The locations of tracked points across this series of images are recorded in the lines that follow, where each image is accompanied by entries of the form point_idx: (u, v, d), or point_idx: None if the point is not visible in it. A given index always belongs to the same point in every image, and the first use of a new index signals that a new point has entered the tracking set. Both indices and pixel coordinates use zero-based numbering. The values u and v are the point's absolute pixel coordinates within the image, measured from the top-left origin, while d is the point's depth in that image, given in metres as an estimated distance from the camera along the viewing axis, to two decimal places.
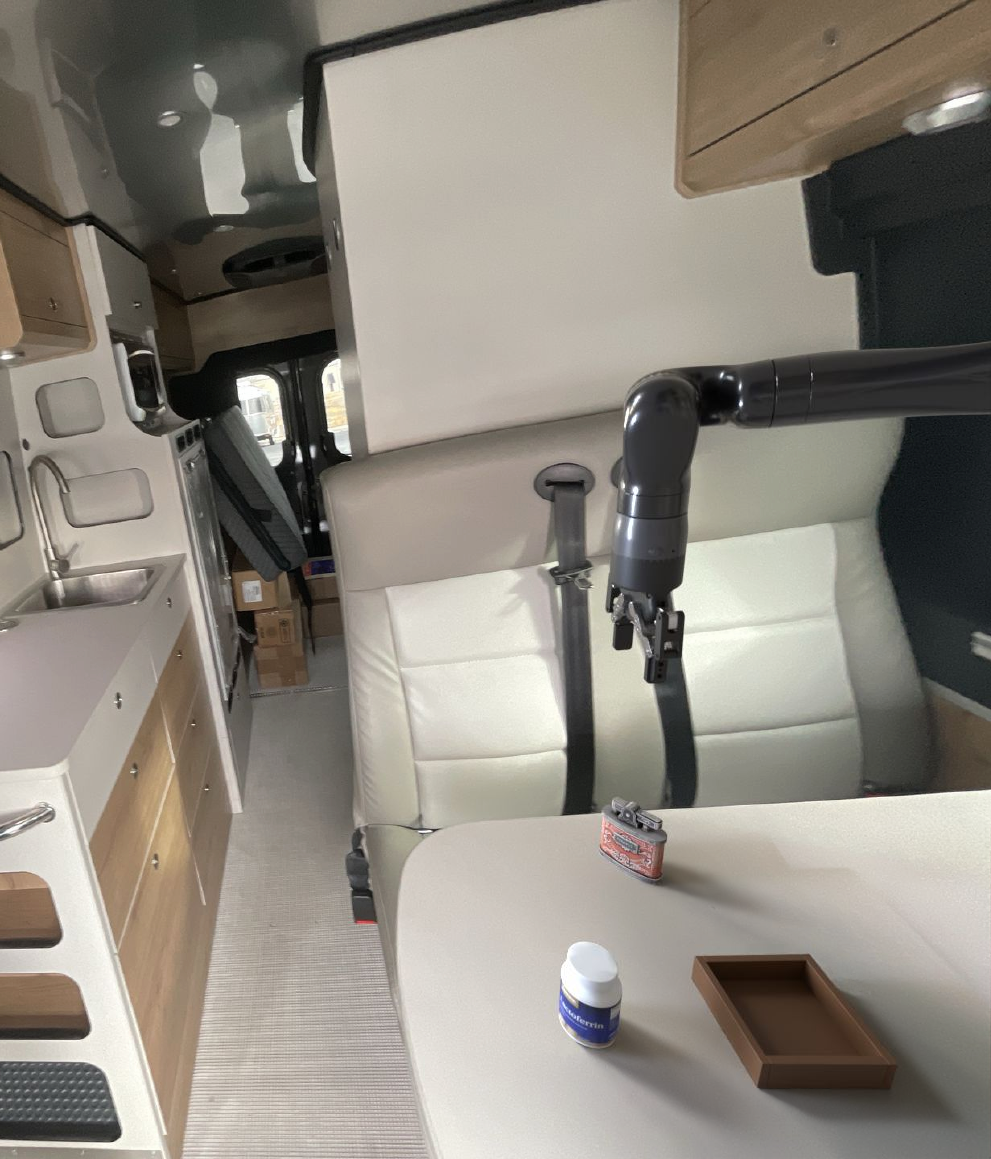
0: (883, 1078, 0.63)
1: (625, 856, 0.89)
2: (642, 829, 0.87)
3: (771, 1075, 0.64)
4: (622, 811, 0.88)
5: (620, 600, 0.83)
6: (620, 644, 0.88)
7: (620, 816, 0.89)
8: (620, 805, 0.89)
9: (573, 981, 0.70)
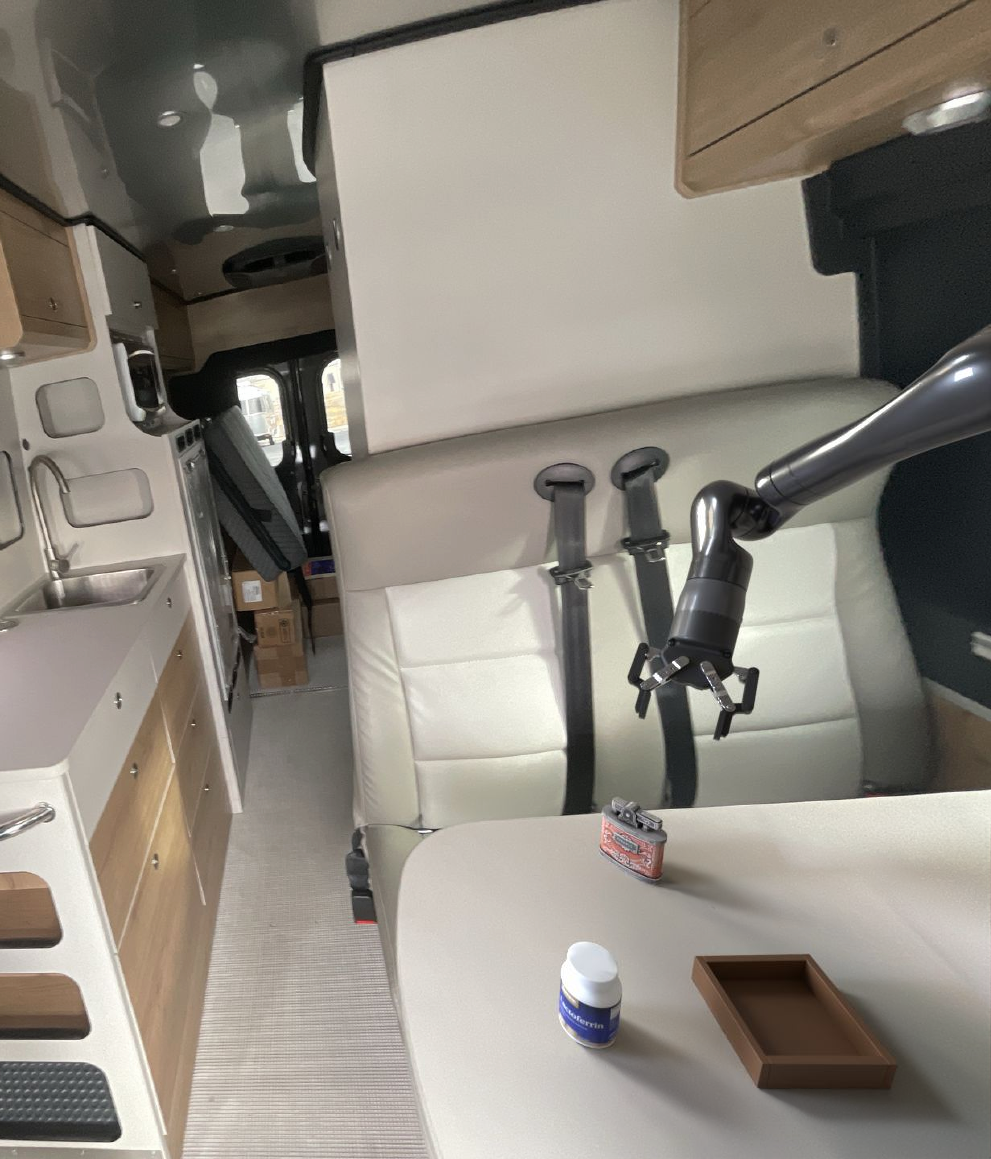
0: (883, 1078, 0.63)
1: (625, 856, 0.89)
2: (642, 829, 0.87)
3: (771, 1075, 0.64)
4: (622, 811, 0.88)
5: None
6: None
7: (620, 816, 0.89)
8: (620, 805, 0.89)
9: (573, 981, 0.70)
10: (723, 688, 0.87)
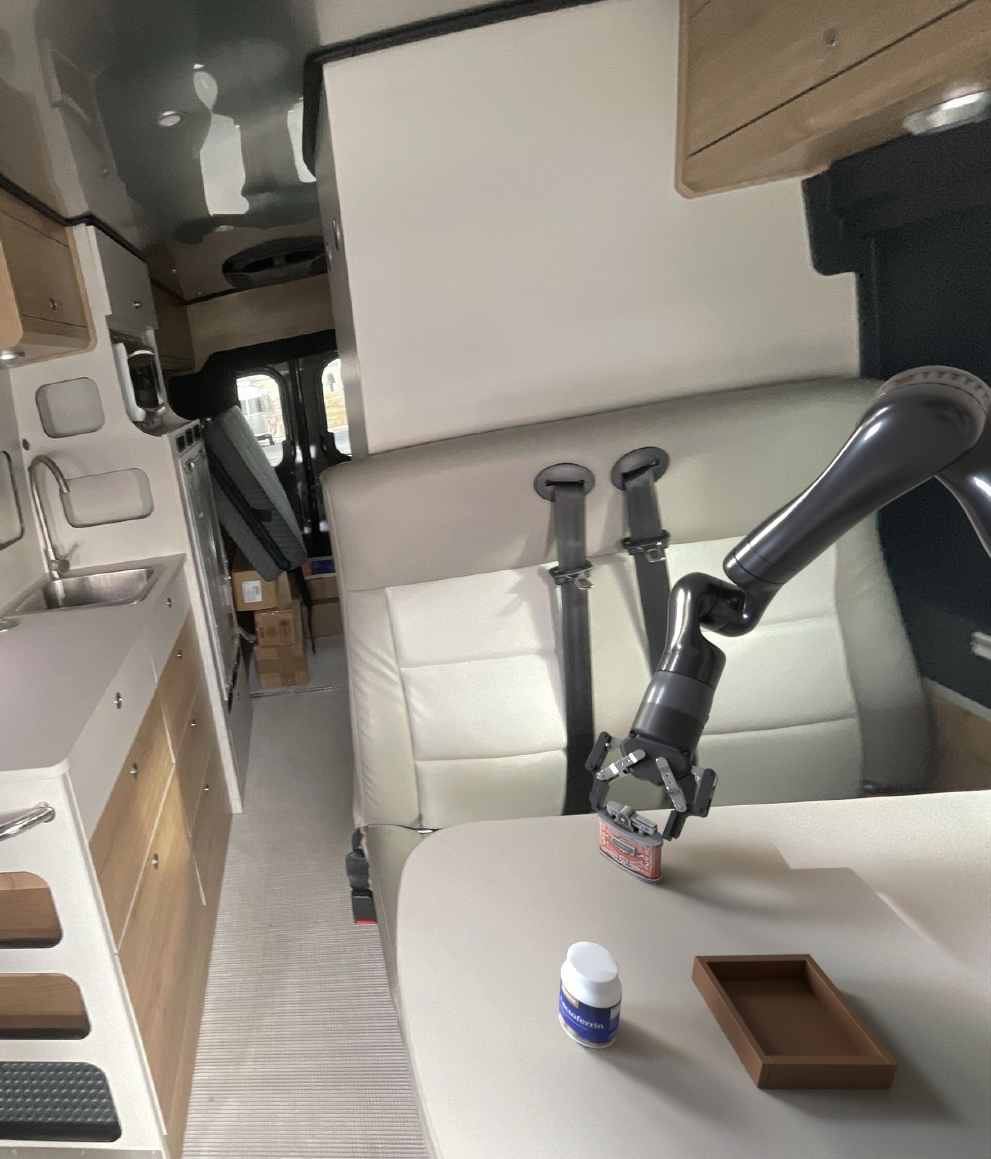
0: (883, 1078, 0.63)
1: (623, 858, 0.89)
2: (638, 833, 0.86)
3: (771, 1075, 0.64)
4: (617, 816, 0.88)
5: None
6: None
7: (616, 820, 0.88)
8: (615, 810, 0.88)
9: (573, 981, 0.70)
10: (676, 787, 0.85)
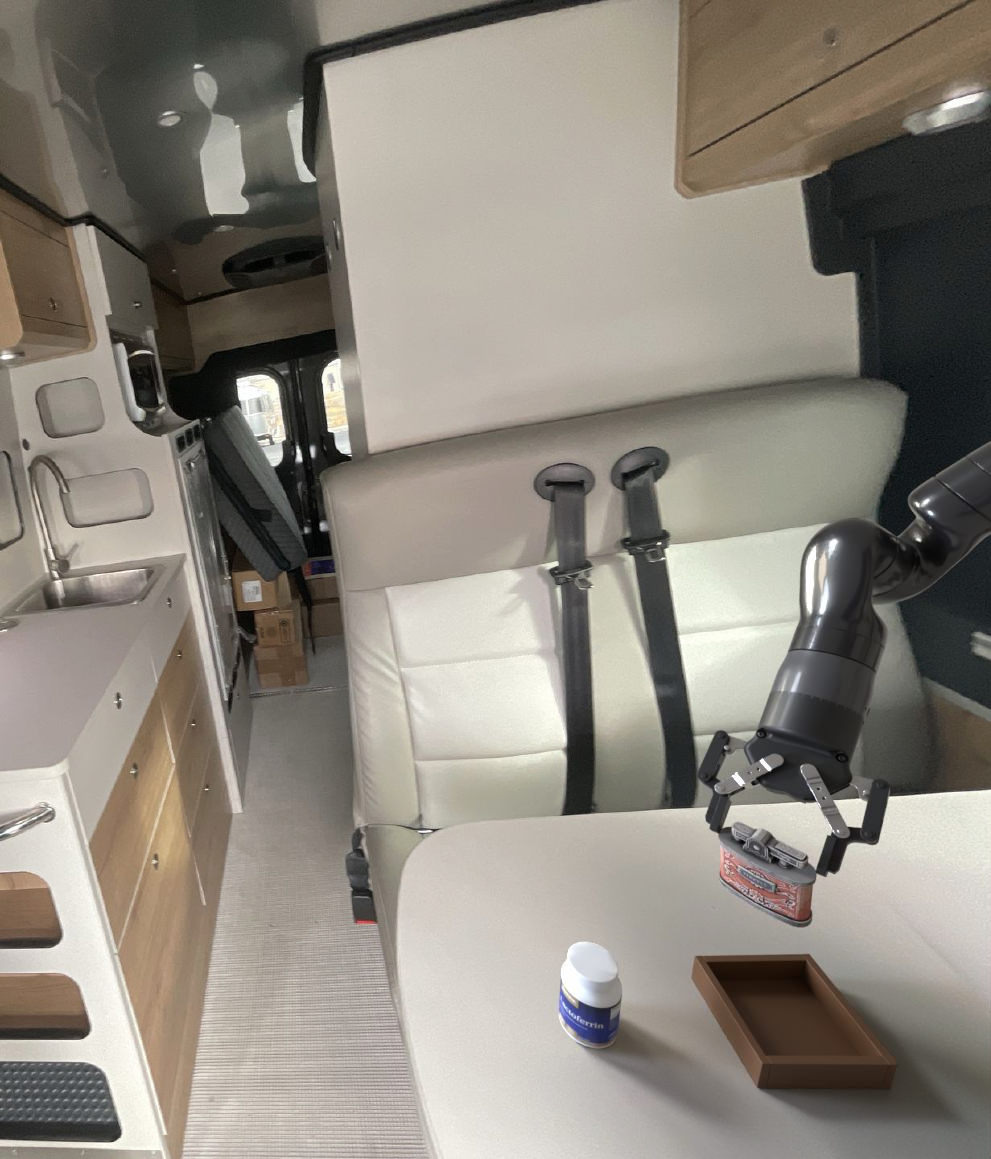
0: (883, 1078, 0.63)
1: (756, 893, 0.68)
2: (779, 865, 0.65)
3: (771, 1075, 0.64)
4: (748, 842, 0.66)
5: None
6: None
7: (745, 847, 0.67)
8: (744, 834, 0.67)
9: (573, 981, 0.70)
10: (832, 804, 0.63)
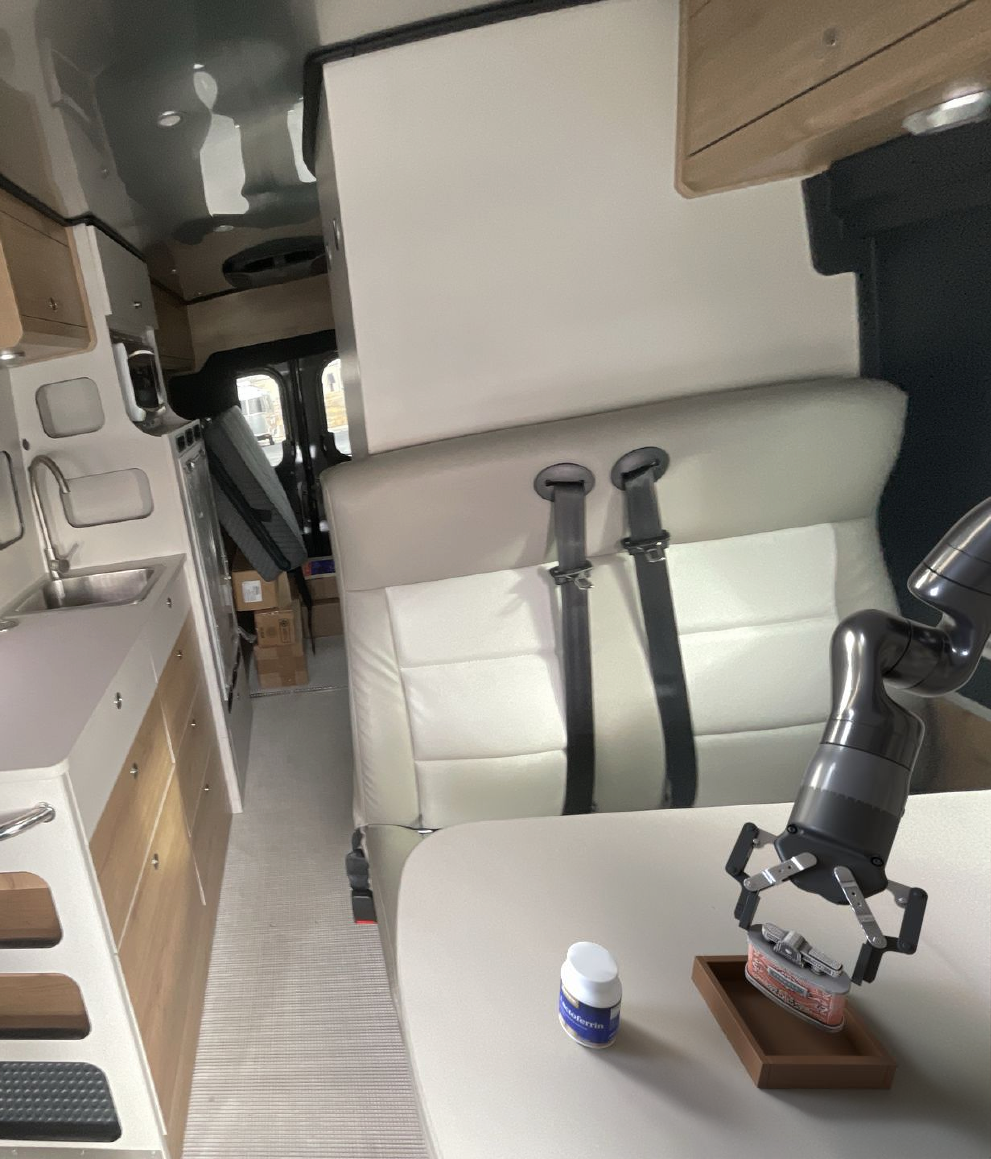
0: (883, 1078, 0.63)
1: (786, 994, 0.66)
2: (812, 970, 0.63)
3: (771, 1075, 0.64)
4: (779, 945, 0.65)
5: None
6: None
7: (776, 949, 0.65)
8: (775, 936, 0.65)
9: (573, 981, 0.70)
10: (868, 911, 0.62)
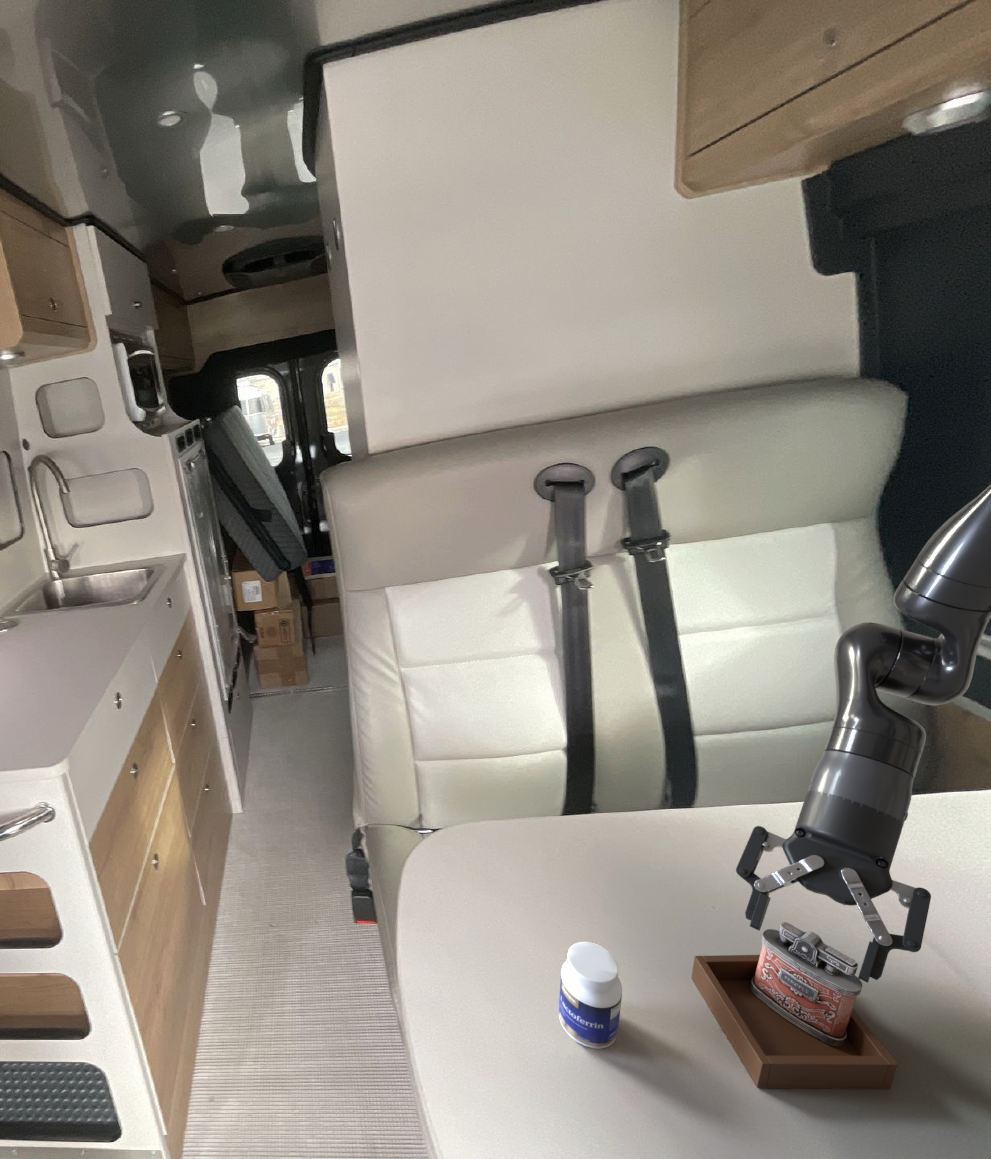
0: (883, 1078, 0.63)
1: (793, 1002, 0.69)
2: (825, 971, 0.66)
3: (771, 1075, 0.64)
4: (796, 943, 0.68)
5: None
6: None
7: (792, 948, 0.68)
8: (793, 934, 0.68)
9: (573, 981, 0.70)
10: (874, 911, 0.65)
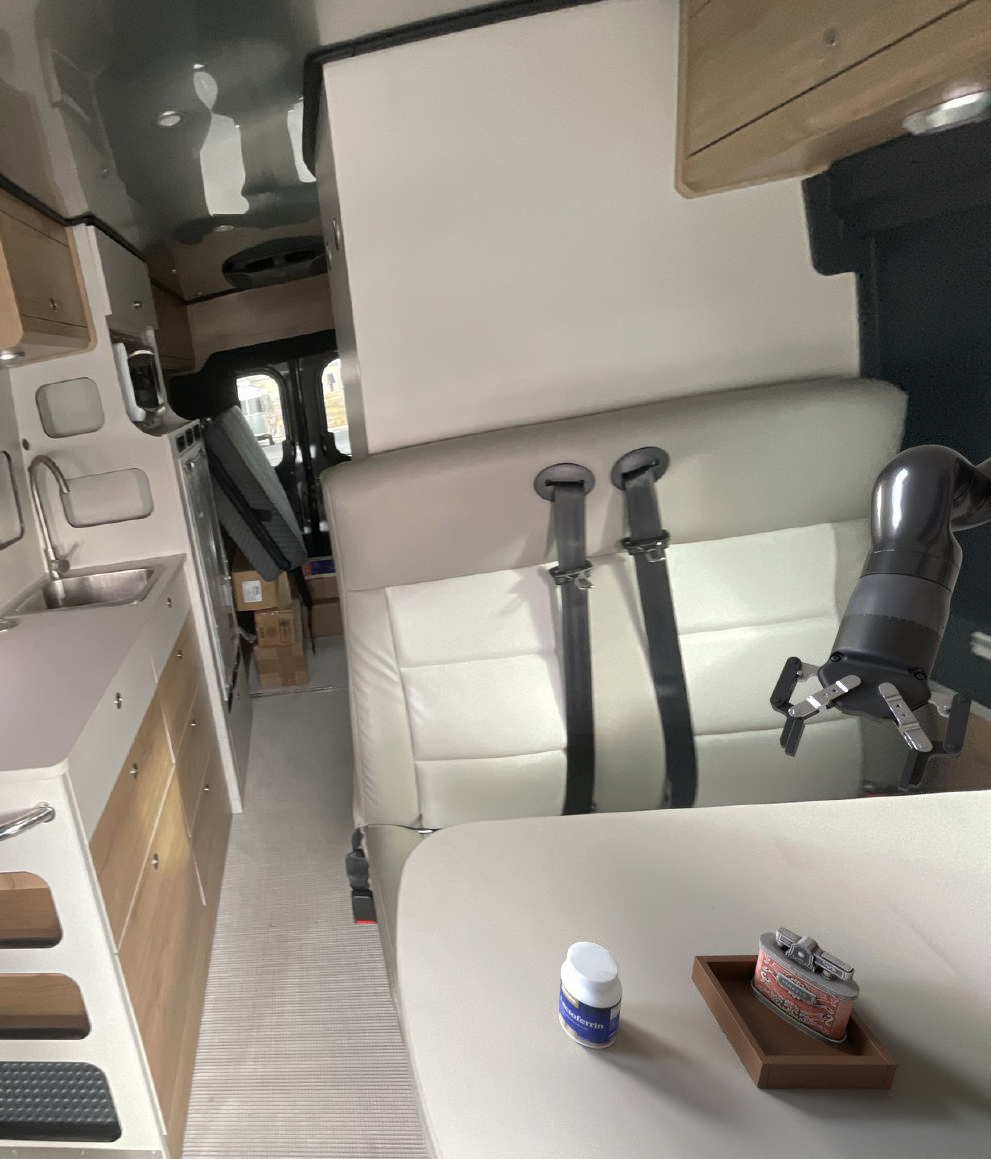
0: (883, 1078, 0.63)
1: (792, 1005, 0.69)
2: (822, 976, 0.66)
3: (771, 1075, 0.64)
4: (792, 948, 0.68)
5: None
6: None
7: (788, 953, 0.68)
8: (789, 939, 0.68)
9: (573, 981, 0.70)
10: (913, 719, 0.64)
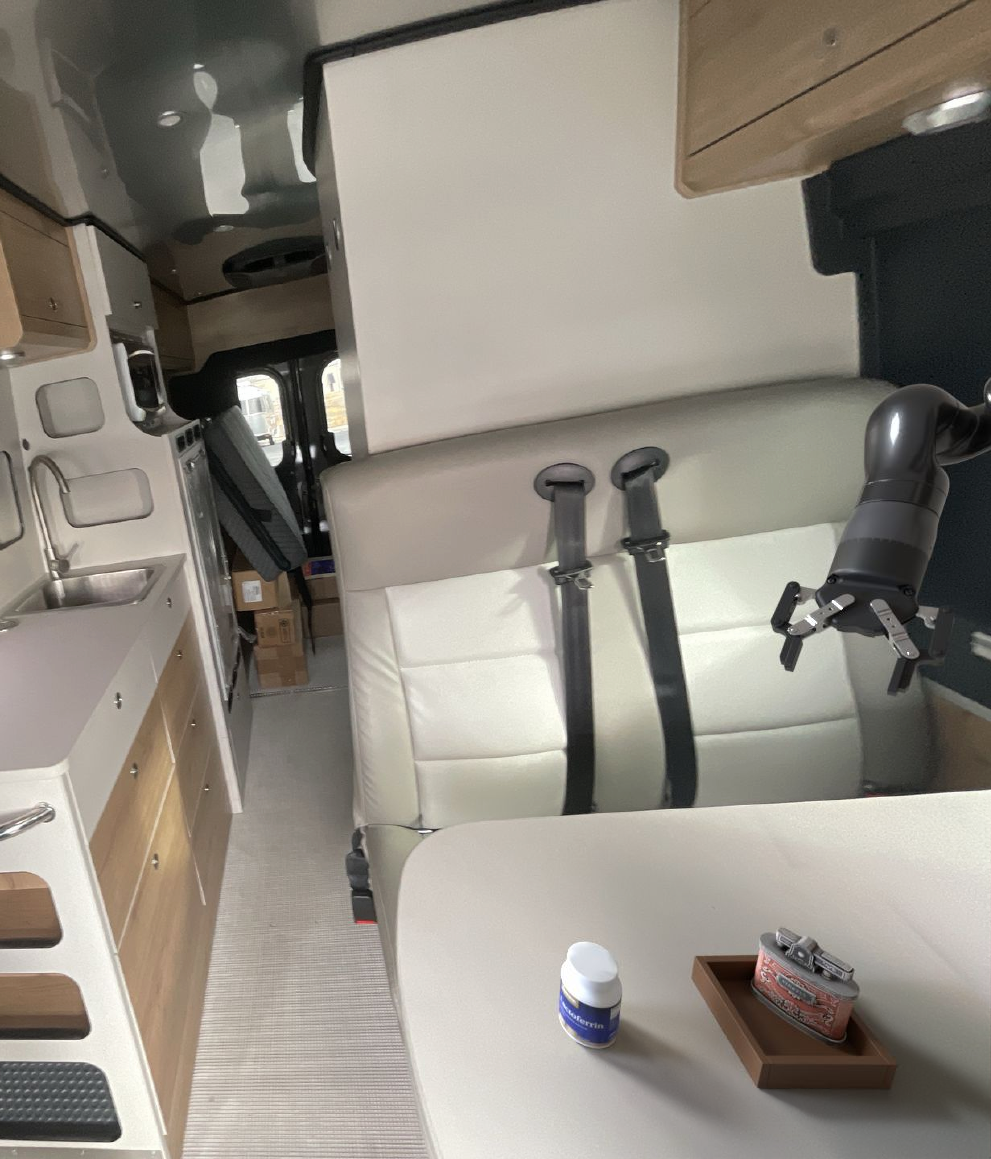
0: (883, 1078, 0.63)
1: (792, 1005, 0.69)
2: (822, 976, 0.66)
3: (771, 1075, 0.64)
4: (792, 948, 0.68)
5: None
6: None
7: (788, 953, 0.68)
8: (789, 939, 0.68)
9: (573, 981, 0.70)
10: (902, 630, 0.70)
